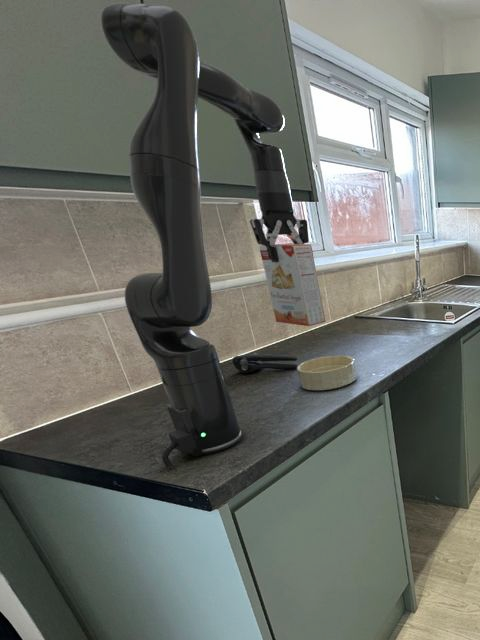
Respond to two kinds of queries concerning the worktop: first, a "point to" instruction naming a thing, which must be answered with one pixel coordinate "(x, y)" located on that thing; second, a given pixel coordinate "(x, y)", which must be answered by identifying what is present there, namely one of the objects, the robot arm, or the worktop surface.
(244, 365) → the can opener
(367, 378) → the worktop surface
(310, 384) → the bowl
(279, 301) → the cracker box
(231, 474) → the worktop surface
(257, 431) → the worktop surface
